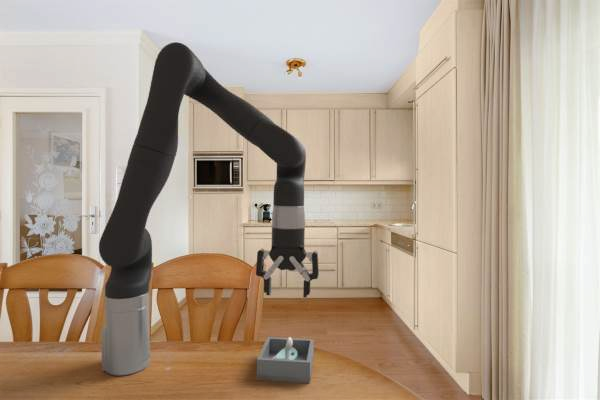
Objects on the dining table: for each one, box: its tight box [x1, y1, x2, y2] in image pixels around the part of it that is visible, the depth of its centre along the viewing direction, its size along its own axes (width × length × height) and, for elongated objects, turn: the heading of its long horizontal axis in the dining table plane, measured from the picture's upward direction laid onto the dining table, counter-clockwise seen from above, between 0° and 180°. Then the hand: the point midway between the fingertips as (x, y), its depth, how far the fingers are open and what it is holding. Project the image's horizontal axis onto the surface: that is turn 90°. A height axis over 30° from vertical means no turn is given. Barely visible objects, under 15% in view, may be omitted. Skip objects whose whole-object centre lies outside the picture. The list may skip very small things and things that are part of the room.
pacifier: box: [272, 336, 297, 360], centre depth 83 cm, size 7×6×6 cm
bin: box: [256, 336, 315, 384], centre depth 83 cm, size 12×12×4 cm
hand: (287, 295), depth 82 cm, fingers open, 8 cm apart
